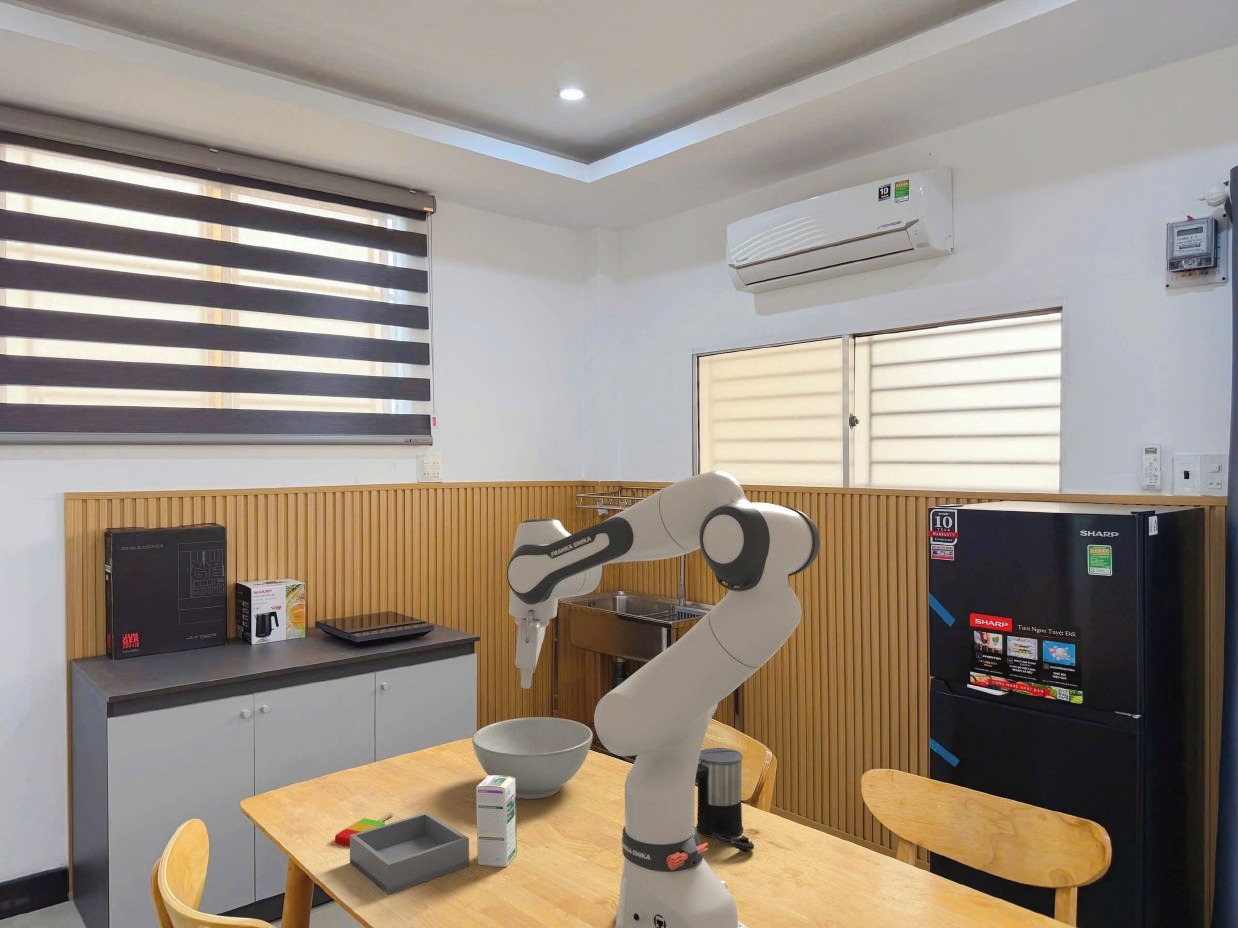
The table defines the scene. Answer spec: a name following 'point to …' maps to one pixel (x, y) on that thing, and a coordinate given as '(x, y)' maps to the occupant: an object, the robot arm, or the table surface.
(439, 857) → the bin
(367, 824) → the popsicle
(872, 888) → the table surface
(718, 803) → the milk frother
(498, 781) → the syrup box
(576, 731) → the decorative bowl
